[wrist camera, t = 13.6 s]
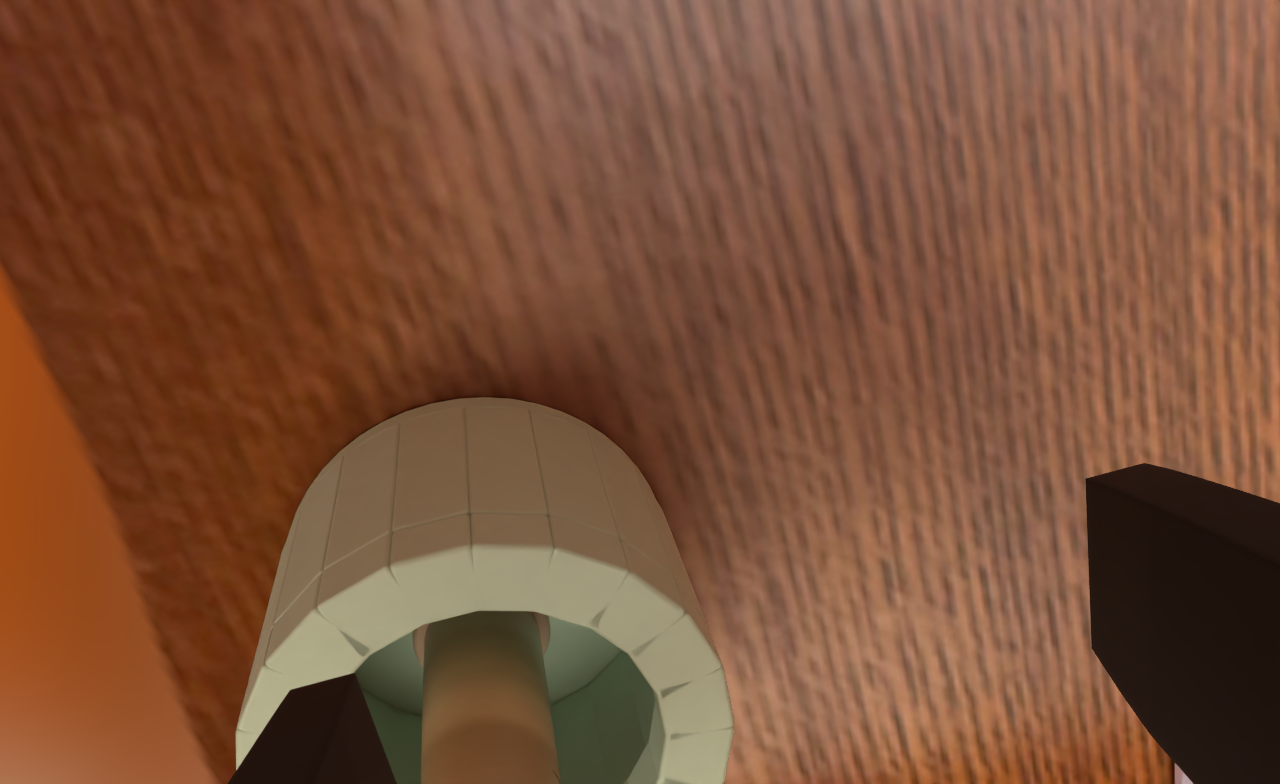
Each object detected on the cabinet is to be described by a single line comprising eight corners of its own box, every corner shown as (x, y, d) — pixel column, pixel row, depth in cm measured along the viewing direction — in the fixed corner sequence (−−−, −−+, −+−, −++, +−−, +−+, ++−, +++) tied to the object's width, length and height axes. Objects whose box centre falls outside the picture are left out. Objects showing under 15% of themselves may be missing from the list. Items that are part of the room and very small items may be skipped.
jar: (694, 672, 23) (764, 873, 18) (349, 764, 23) (323, 996, 18) (629, 354, 20) (690, 490, 15) (229, 450, 20) (158, 623, 15)
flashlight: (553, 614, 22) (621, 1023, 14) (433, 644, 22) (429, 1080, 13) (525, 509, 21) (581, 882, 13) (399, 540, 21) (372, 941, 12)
